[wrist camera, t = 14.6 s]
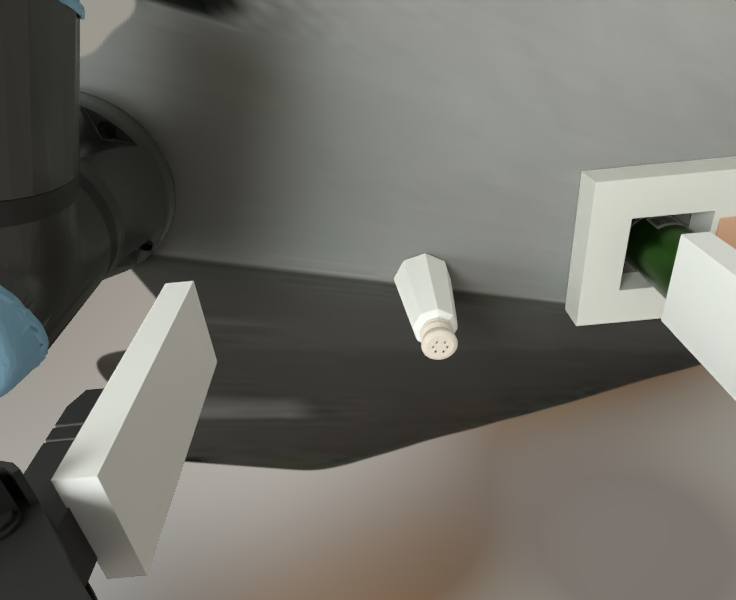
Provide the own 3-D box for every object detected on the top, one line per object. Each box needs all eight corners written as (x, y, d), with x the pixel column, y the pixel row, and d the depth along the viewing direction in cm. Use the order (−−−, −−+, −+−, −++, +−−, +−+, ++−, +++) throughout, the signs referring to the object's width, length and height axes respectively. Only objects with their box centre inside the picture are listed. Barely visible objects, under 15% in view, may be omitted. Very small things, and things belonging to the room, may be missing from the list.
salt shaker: (454, 253, 50) (480, 317, 40) (447, 303, 52) (469, 375, 43) (395, 251, 49) (408, 316, 40) (391, 302, 52) (402, 374, 43)
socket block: (565, 309, 53) (577, 327, 50) (581, 170, 46) (596, 183, 43) (706, 295, 53) (726, 313, 50) (745, 155, 46) (771, 166, 43)
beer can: (616, 220, 49) (690, 285, 38) (678, 202, 48) (769, 264, 38) (620, 270, 51) (690, 343, 41) (678, 254, 51) (763, 324, 40)
